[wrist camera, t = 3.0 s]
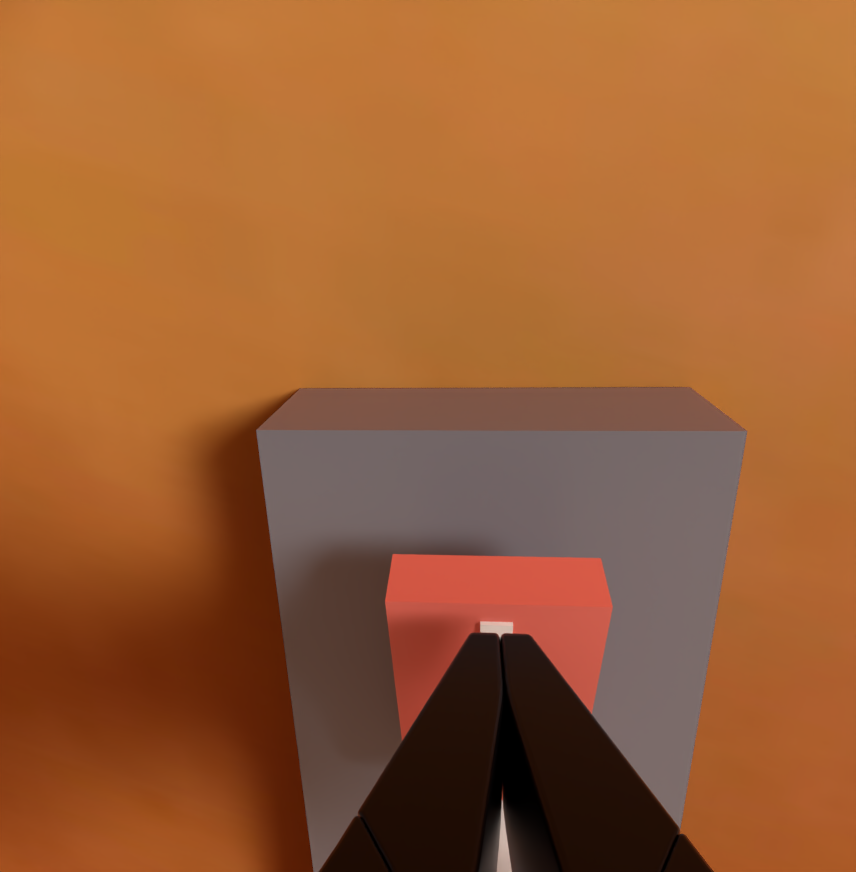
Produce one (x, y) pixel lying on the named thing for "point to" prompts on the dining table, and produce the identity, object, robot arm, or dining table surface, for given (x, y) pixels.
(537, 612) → the switch
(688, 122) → the dining table surface
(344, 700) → the switch panel
